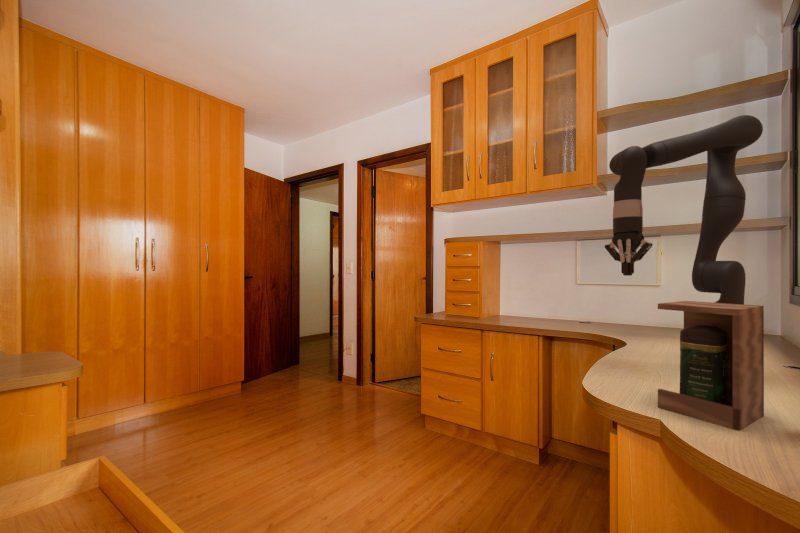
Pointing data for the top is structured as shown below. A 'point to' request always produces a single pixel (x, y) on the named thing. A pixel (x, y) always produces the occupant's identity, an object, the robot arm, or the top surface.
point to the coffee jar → (704, 363)
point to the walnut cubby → (741, 364)
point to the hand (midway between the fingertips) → (627, 275)
